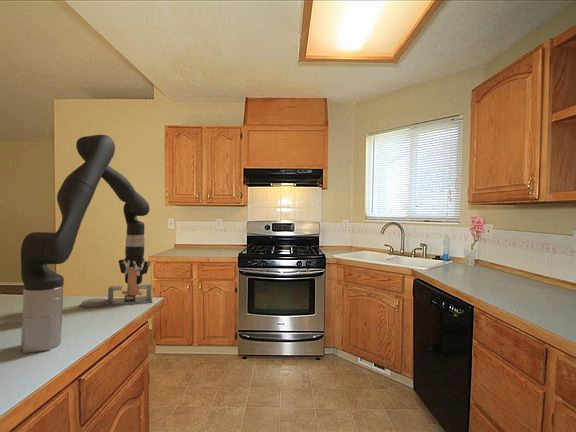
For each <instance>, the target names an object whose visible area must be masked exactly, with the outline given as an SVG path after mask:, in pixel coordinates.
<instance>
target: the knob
mask: <svg viewBox="0 0 576 432" xmlns="http://www.w3.org/2000/svg"><path fill="white" fill-rule="evenodd" d="M138 268H140V267H138ZM137 276H138V275H137V271H136V270H135V268H134V267H129V268H128V283H127V286H126V287H127V288H126V289H127V290H121V293H122V295H136V296H143V295H145V292H144V291H140V289H139V285H140V284H137Z"/></svg>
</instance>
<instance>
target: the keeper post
mask: <svg viewBox="0 0 576 432" xmlns="http://www.w3.org/2000/svg"><path fill="white" fill-rule="evenodd" d="M107 289H108V290H107V299H108V303H106V306H105V307H110V306H111V307H114V306H126V305H128V304H129V305H137V304H138V305H140V304H139V303H143V304H152V303H153V296H152V284H151V283H149V284H139V290H146V294H145V296H137V295H127V294H124V297H118V298H117V297H116V298H114V295H115V294H114V291H115V292H117V291H123V290H122V289H123V285H110V286H108V288H107Z"/></svg>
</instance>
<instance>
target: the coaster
mask: <svg viewBox="0 0 576 432" xmlns="http://www.w3.org/2000/svg"><path fill="white" fill-rule="evenodd" d="M106 303H108V298H104V297H103V298H101V297H100V298H99V297H98V298H91V299H86V300H83V301H82V302H81V307H82V308H84V309H85V308H87V309H94V308H95V309H96V308H101V307H107V306H106Z"/></svg>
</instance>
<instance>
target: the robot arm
mask: <svg viewBox="0 0 576 432" xmlns="http://www.w3.org/2000/svg"><path fill="white" fill-rule="evenodd" d="M75 146H76V151H77V152H78V155H79V156H80V157H81V158H82V160H83V161H84V162H83V163H82V164H80V166H78V167H77V168H75V169H74V170H73V171H72V172H70V173H69V175H67V176H66V178H65V179H64V180H63V182H62V183H61V186H60V188H59V190H58V192H57V194H56V200H57V205H58V208H59V210H60V214H61V217H62V218H61V222H60V224H59V227H58V229H57V231H55V232H41V231H34V232H30V233H28V234H27V235H25V237H24V238H23V240H22V242H21V247H20V248H21V249H20V272H21V273H20V276H21V280H22V284H23V291H22V292H23V293H22V295H23V296H22V311H21V312H22V314H21V320H22V321H21V338H20V339H21V340H20V351H22V353H23V354H29V353H35V352H36V353H37V352H42V351H43V352H44V351H50V350H52V349H53V348H56V347H57V346H59V345H60V344H61V343H62V324H63V304H64V303H63V302H64V286H65V285H64V282H65V280H64V276H63V275H62V274H60V273H56V272H54V271H53V270H51V269H50V267H49V266H48V265H61V264H62V265H63V264H65V262H67V260H69V257H70V256H71V254H72V252H73V249H74V246H75V243H76V240H77V237H78V233H79V231H80V228H81V224H82V221H83V219H84V217H85V215H86V213H87V210H88V207H89V205H90V204H91V202H92V199H93V197H94V194H95V192H96V189H97V187H98V185H99V183H100V181H101V179H103V180H104V181H105V182H106V184H108V185H109V187H110V189H112V190H113V192H114V193H115V194H116V196H117V197H118V199H119V200H120V201H121V202H124V205H123V214H124V218H125V222H126V237H125V249H124V250H125V252H124V256H125V257H124V259H123V258H122V259H119V260H118V265H119V269H120V270H119V271H120V274H124V283H125V284H128V268H129V267H134V268H135V270H136V271H137V275H138V276H137V284H139V285H142V284H141V283H142V282H143V275H146V274H147V273H148V270H149V267H150V264H151V261H150V260H145V258H144V255H145V242H146V241H145V227H146V226H145V222H143V221H141V220H139V219H138V217H145V216H146V215H148V214H149V212H150V205H149V203H148V201H147V200H146V199H145V198H144V197H143V196H142V195H141V194H139V192H137V191H136V190H135V188H134V187H133V185H132V184H131V182H130V181H129V179H128V178H127V177H126V176H124V175H123V174H122V173H120V172H119V171H117V170H116V169H114V168H112V167H111V166H110V163H111V161H112V159H113V157H114V155H115V151H116V145H115V142H114V140H113V138H112V137H110V136H109V135H107V134H95V135H86V136H85V135H84V136H82V137H79V138H78V139H77V141H76V143H75ZM138 267H140V268H138Z"/></svg>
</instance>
